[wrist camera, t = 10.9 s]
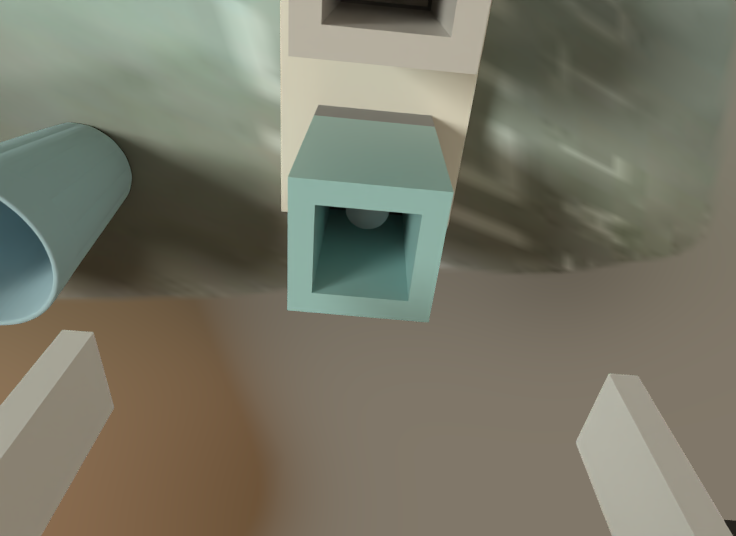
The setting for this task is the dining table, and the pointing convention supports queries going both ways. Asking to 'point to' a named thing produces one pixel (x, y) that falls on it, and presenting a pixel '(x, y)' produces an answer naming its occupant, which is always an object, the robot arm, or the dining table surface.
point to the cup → (53, 211)
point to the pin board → (370, 103)
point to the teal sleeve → (371, 192)
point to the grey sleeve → (390, 33)
